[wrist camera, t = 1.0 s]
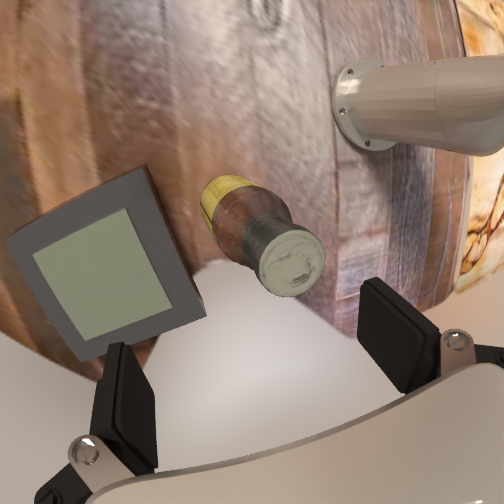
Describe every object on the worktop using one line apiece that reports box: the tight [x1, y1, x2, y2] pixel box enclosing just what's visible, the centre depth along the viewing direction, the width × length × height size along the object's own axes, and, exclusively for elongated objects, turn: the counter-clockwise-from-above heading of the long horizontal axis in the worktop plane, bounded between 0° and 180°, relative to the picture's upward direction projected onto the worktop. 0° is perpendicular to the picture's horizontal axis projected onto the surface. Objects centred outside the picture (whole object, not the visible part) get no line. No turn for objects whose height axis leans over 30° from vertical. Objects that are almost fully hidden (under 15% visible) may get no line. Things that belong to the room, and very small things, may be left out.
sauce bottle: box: [200, 175, 325, 297], centre depth 25 cm, size 6×6×20 cm
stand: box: [4, 164, 207, 362], centre depth 31 cm, size 18×18×4 cm
